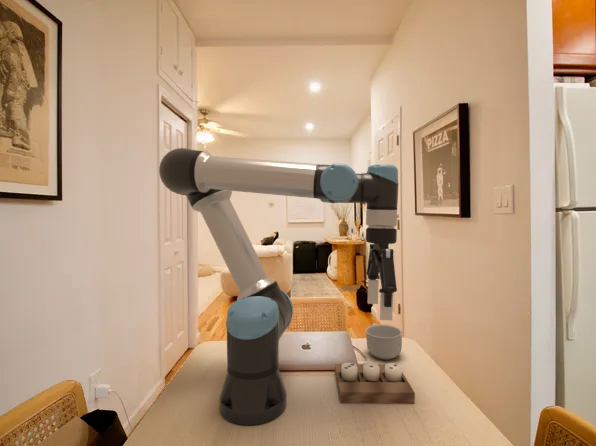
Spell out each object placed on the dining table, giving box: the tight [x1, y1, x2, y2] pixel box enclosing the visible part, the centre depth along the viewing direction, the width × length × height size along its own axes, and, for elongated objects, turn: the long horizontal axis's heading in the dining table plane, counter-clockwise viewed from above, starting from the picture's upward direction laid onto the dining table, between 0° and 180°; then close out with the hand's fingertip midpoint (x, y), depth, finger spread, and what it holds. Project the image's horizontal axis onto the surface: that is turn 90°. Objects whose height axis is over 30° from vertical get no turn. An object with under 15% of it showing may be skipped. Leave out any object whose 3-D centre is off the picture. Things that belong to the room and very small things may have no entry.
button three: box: [341, 362, 357, 381], centre depth 81 cm, size 4×4×3 cm
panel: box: [334, 363, 416, 405], centre depth 81 cm, size 17×14×2 cm
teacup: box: [365, 322, 403, 360], centre depth 101 cm, size 14×11×8 cm
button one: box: [363, 362, 380, 381], centre depth 81 cm, size 4×4×3 cm
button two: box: [385, 362, 403, 381], centre depth 81 cm, size 4×4×3 cm
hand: (378, 311), depth 81 cm, fingers open, 13 cm apart
